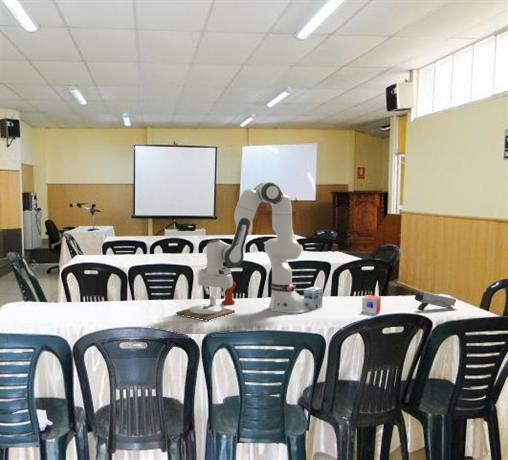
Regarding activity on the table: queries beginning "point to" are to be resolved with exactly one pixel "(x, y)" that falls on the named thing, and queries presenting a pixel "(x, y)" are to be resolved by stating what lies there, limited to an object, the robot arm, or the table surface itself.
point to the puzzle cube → (371, 304)
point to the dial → (206, 308)
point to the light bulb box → (313, 297)
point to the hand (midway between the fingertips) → (215, 294)
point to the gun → (434, 300)
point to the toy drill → (229, 296)
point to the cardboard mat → (206, 317)
